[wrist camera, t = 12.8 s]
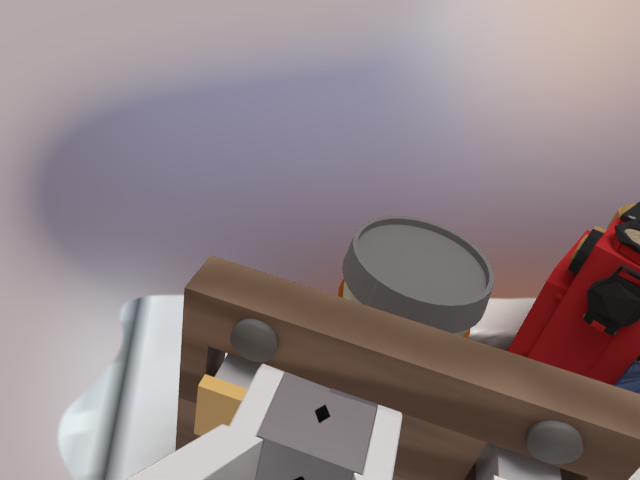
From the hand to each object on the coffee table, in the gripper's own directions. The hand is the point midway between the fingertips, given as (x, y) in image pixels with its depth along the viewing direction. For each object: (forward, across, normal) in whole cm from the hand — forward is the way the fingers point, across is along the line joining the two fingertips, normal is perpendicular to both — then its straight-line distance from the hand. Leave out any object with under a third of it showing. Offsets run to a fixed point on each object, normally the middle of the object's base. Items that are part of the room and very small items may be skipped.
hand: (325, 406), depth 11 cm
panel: (+13, +3, -30) cm, 33 cm away
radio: (+41, +23, -30) cm, 55 cm away
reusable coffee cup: (+30, +4, -30) cm, 43 cm away
